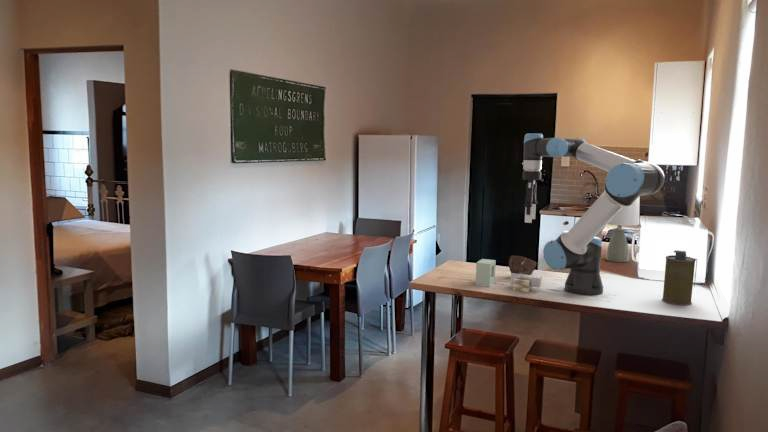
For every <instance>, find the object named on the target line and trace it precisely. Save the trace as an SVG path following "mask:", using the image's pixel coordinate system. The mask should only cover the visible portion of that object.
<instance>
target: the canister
mask: <svg viewBox="0 0 768 432" xmlns="http://www.w3.org/2000/svg"><path fill="white" fill-rule="evenodd" d="M673 253H675V254H674V255H671V254H670V255H666V256H665V269H664V280H663V289H662V290H663V292H662V298H661V300H662V301H663V302H665V303H667V304H671V305H677V306H690V305H691V304H692V303H693V302H692V295H693V288H695V286H696V281H694V279H696V276H697V271H695V269H697V266H698V259H697V258H694V257H690V256H687V252H686V250H674V251H673ZM694 274H695V275H694Z"/></svg>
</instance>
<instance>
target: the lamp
mask: <svg viewBox="0 0 768 432" xmlns="http://www.w3.org/2000/svg"><path fill="white" fill-rule="evenodd" d="M640 197H641V196H639V197H638V198H637V199H636V200H635V201H634V202H633V203H632V204H631V205H630V206H623V207H622V209H621V210H620V211H619V212H618V213H617V214H616V215H615V216H614V217H613V218H612V219H611V220H610V221H609V222H608V223H607V224H606V225H611V226H616V227H613V233H612V235H611V237H610V239H609V242H608V246H607V249H606V254H605V255H606V256H605V260H607V261H609V262H614V263H615V262H616V263H627V262H629V260H630V259H629V255H630V254H629V243H628V241H627V240H628V239H627V237H626V234H625V232H626V228H623V226H624V227H635V226H636V227H637V226H640V202H641V201H640Z"/></svg>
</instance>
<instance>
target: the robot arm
mask: <svg viewBox="0 0 768 432" xmlns="http://www.w3.org/2000/svg"><path fill="white" fill-rule="evenodd" d="M543 157H548V158H564V157H565V158H572V159H575V160H577V161H580V162H583V163H585V164H588V165H590V166H593V167H595V168H598V169H600V170H602V171H605V172H607V175H606V176H605V179H606V180H605V183H604V184H603V190H604V191H603V192H602V193H601V194H600V196H599V197H598V198H597V199H596V200H595V201H593V204H591V205H590V207H589V208H588V209H587V210H586V211H585V213H584V214H582V215H581V217H580V218H579V219H578V220H577V221H576V223H574V225H573V226H572V227H571V228H570V229H569V230H564V231H562V233H561V234H559V236H558V237H557V238H556V239H555V240H553V239H552V240H549V241H547V242H546V243H545V244H544V246H543V259H544V261H545V263H546V265H547V266H548V267H549V268H550V269H552V270H556V271H558V270H559V271H563V270H567V269H569V273H568V274H567V277H566V280H565V282H564V290H565V291H567V292H570V293H573V294H578V295H586V296H591V295H592V296H593V295H595V296H597V295H601V294H603V292H604V285H603V281H602V277H601V275H600V274H601V273H600V272H601V260H602V249H603V244H602V243H603V241H602V239H601V238H600V237H598V236H597V235H598V234H599V233H600V232H601V231H602V230H603V229H604V228H605V227H606V226H607V225H608V224H607V223H608V222H609V221H610V220H611V219H612V218H613V217H614V216H615V215H616V214H617V213H618V212H619V211H620V210H621V209H622V207H623V206H630V205H631V204H632V203H633V202H634V201H635V200H636V199H637V198H638V197H639V196H640V197H641V196H650V195H653V194H655V193H658V192H659V191H660V190H661V189H662V188H663V186H664V184H665V173H664V171H663V170H662V168H661V167H660V166H659V165H657V164H656V163H652V162H649V161H645V160H643V159H637V160H635V159H631V158H629V157H626V156H624V155H620V154H618V153H615V152H612V151H609V150H607V149H604V148H601V147H599V146H596V145H594V144H591V143H588V142H587V141H586V140H585V139H582V138H566V137H565V138H563V137H562V138H561V137H546V138H544V135H543V133H538V132H537V133H536V132H535V133H528V132H527V133H526V134H525V135H524V139H523V158H522V159H523V160H522V161H523V162H522V163H521V165H522V166H523V168H522V170H523V171H522V180H523V181H527V183H526V185H525V187H526V190H525V201H524V204H523V207H524V208H525V209H524V223H528V224H532V223H533V222H532V220H536V211H537V210H536V209H537V207H536V205H538V204H539V203H538V201H537V188H538V186H537V181H540V180H541V179H542V171H541V170H542V168H543V167H542V164H543V160H542V159H543Z"/></svg>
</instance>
